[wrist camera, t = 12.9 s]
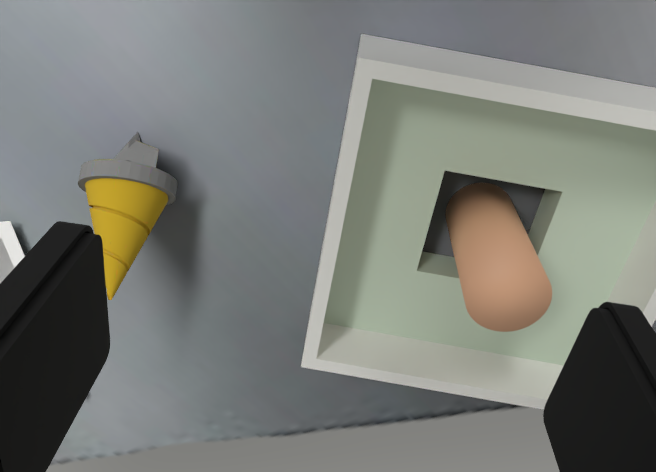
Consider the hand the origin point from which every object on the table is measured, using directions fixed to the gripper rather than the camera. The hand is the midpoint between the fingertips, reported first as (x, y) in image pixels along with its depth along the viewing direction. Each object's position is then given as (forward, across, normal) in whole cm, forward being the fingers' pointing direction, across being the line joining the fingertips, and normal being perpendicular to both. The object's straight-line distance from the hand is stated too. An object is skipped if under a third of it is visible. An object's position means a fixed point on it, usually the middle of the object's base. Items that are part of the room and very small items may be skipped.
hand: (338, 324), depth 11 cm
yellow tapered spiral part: (+23, +11, +10) cm, 28 cm away
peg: (+23, -9, +9) cm, 26 cm away
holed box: (+23, -9, +9) cm, 26 cm away
